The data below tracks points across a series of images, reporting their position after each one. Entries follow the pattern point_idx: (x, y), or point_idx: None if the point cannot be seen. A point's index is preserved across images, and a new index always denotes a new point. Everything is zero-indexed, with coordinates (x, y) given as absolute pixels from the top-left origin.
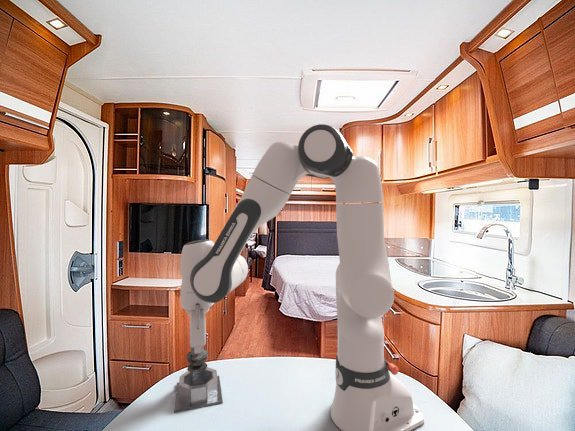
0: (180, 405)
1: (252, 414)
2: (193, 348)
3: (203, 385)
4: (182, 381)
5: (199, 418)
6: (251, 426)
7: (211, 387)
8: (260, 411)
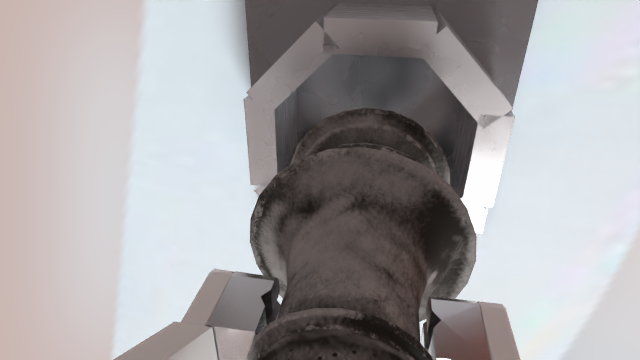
0: (277, 13)
1: (176, 281)
2: (298, 280)
3: (267, 172)
4: (356, 44)
5: (184, 102)
6: (121, 263)
7: None
8: (187, 304)
